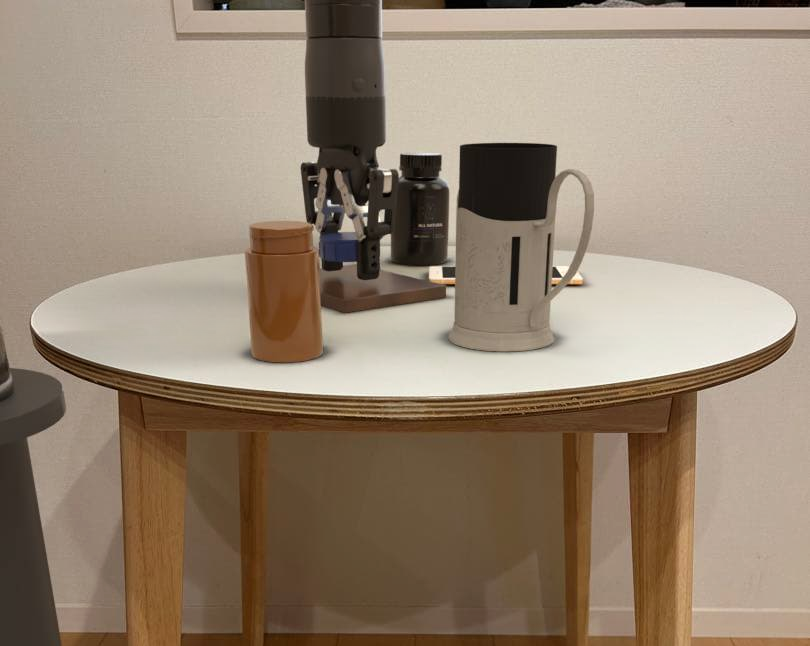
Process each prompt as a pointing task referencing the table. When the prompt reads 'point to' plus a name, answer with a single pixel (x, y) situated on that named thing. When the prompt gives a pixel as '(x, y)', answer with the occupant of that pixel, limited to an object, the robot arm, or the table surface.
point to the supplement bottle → (421, 211)
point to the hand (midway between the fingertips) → (349, 273)
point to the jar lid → (338, 247)
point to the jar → (284, 292)
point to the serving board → (373, 290)
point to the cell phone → (448, 275)
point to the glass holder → (509, 245)
